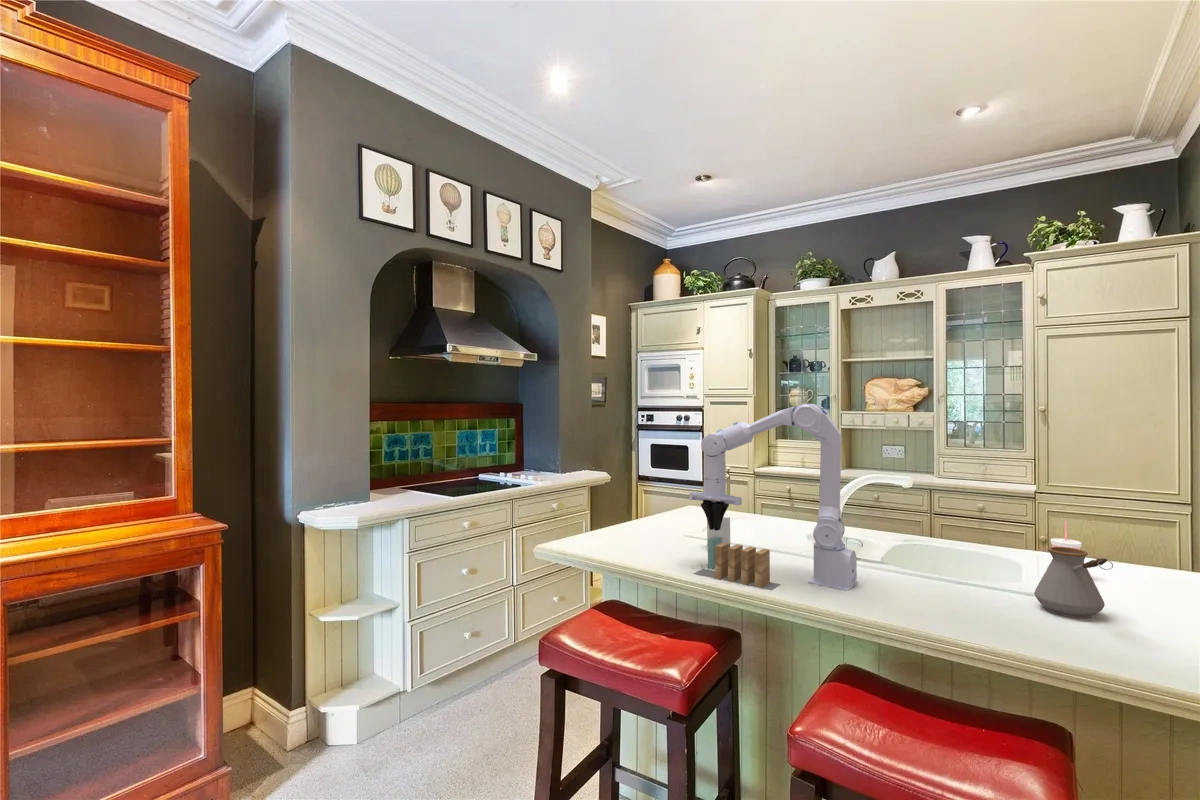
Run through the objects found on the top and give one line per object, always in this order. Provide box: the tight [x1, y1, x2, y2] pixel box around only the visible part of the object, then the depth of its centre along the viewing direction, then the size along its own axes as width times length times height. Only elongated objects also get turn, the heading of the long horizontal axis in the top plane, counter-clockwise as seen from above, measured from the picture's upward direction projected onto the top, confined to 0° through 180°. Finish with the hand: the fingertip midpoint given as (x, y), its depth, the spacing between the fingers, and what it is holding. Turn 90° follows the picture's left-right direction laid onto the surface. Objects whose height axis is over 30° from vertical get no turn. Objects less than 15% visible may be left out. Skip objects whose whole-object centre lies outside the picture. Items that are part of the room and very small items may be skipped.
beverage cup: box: [1050, 520, 1083, 550], centre depth 145 cm, size 6×6×14 cm
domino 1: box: [714, 542, 731, 580], centre depth 145 cm, size 2×5×8 cm, turn 141°
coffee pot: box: [1034, 546, 1114, 619], centre depth 116 cm, size 21×12×15 cm, turn 161°
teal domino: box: [707, 536, 722, 570], centre depth 153 cm, size 2×5×8 cm, turn 141°
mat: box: [692, 568, 782, 591], centre depth 143 cm, size 21×6×1 cm, turn 51°
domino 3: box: [740, 546, 757, 586], centre depth 141 cm, size 2×5×8 cm, turn 141°
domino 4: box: [755, 548, 771, 589], centre depth 138 cm, size 2×5×8 cm, turn 141°
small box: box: [706, 513, 731, 548], centre depth 172 cm, size 8×6×10 cm
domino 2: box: [727, 544, 744, 583], centre depth 143 cm, size 2×5×8 cm, turn 141°
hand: (714, 529), depth 153 cm, fingers closed
